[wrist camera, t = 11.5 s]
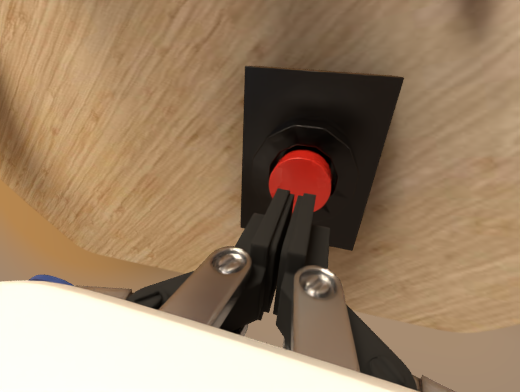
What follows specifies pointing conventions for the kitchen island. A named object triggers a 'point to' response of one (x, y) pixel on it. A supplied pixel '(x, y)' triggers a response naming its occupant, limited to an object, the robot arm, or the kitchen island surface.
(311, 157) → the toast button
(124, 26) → the kitchen island surface
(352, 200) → the red push button box
